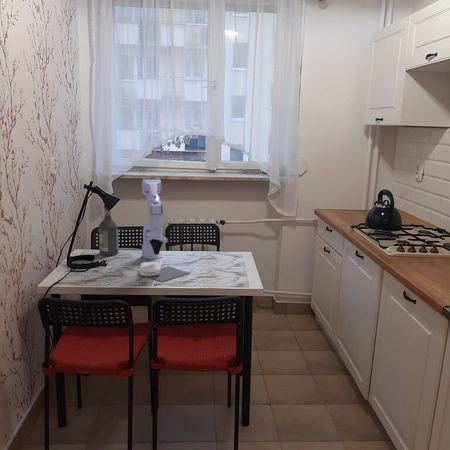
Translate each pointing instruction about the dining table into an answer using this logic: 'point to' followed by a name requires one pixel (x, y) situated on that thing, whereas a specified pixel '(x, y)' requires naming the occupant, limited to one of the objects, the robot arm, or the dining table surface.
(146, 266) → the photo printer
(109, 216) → the liquor
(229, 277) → the dining table surface
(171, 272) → the mat
